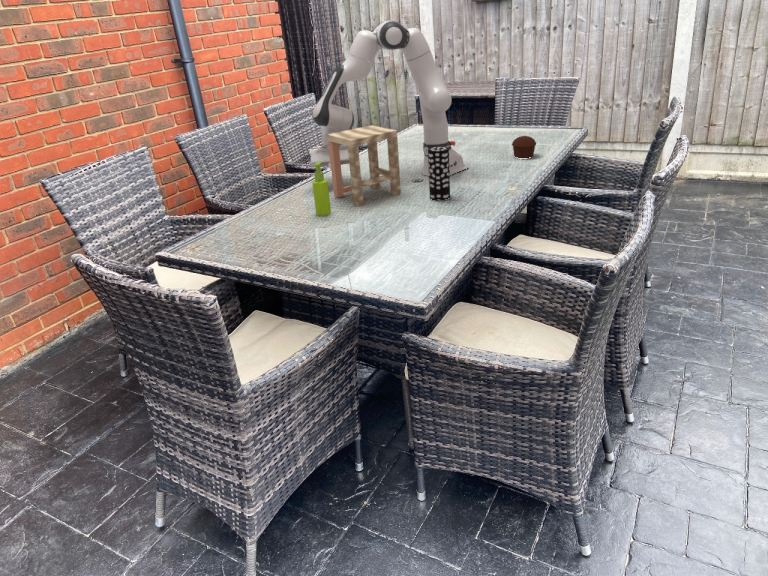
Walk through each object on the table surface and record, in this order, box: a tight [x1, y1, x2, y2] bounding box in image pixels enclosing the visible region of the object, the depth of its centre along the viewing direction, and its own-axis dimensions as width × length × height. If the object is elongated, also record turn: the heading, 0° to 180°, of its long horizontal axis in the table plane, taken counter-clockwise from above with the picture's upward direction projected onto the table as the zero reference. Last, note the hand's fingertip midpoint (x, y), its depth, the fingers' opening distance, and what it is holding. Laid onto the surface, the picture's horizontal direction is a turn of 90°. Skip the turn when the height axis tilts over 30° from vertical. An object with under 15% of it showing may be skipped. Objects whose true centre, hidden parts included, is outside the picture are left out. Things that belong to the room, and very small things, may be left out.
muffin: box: [511, 135, 537, 158], centre depth 284 cm, size 12×11×10 cm
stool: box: [327, 125, 402, 207], centre depth 242 cm, size 22×18×26 cm
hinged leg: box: [328, 142, 352, 199], centre depth 246 cm, size 13×3×23 cm, turn 126°
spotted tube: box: [428, 146, 451, 201], centre depth 234 cm, size 8×8×20 cm
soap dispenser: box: [311, 162, 332, 217], centre depth 228 cm, size 6×7×20 cm
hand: (335, 172), depth 254 cm, fingers closed
